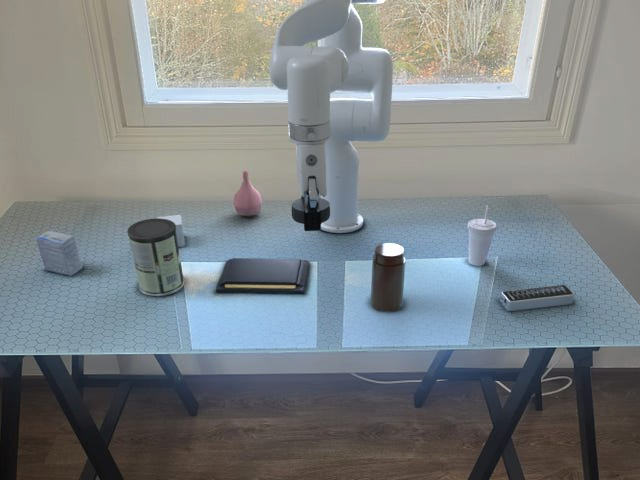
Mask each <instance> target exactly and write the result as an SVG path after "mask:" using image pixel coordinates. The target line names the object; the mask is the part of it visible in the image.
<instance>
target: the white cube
mask: <svg viewBox="0 0 640 480" xmlns="http://www.w3.org/2000/svg"><path fill="white" fill-rule="evenodd" d="M156 218H160V219H167V220H170V221H172V222H174V223H175V225H176V235H177V241H178V247H179V248H184V247H186V243H185V235H184V227H183V222H182V215H181V214H175V215H173V214H172V215H163V216H156Z"/></svg>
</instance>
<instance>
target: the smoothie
mask: <svg viewBox="0 0 640 480" xmlns="http://www.w3.org/2000/svg"><path fill="white" fill-rule="evenodd" d="M489 208H490V205H486V206H485V213H484V218H473V219H471V220H469V221H468V223H467V229H468V263H469V264H470V265H471V266H475V267H481V266H484V265H485V264H486V260H487V256H488V254H489V251H490V247H491V244H492V240H493V237H494V234H495V232H496V231H497V226H498V225H497V223H496V222H495V221H494V220H491V219H488V215H489Z"/></svg>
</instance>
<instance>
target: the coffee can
mask: <svg viewBox="0 0 640 480" xmlns="http://www.w3.org/2000/svg"><path fill="white" fill-rule="evenodd" d="M126 231H127V232H126V233H127V236H128V238H129V243H130V249H131V253H132V258H133V263H134V268H135V273H136V279H137V283H138V290H139V291H140V292H141V294H142V295H146V296H150V297H165V296H169V295H172V294H175V293H177V292H179V291H180V290H181V289H183V287H184V285H185V279H184V274H183V268H182V267H183V266H182V261H181V256H180V250H179V249H180V247H178V241H177V235H176V225H175V223H174V222H172V221H170V220H167V219H160V218H157V217H156V218H147V219H142V220H139V221H137V222H135V223H132V224H131V225H130V226H129V227H128V228H127V229H126Z"/></svg>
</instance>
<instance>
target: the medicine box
mask: <svg viewBox="0 0 640 480" xmlns="http://www.w3.org/2000/svg"><path fill="white" fill-rule="evenodd" d="M35 240H36V243H37V247H38V250H39V254H40V257H41V260H42V264H43V266H45V267H44V270H45V271H47V272H52V273H57V274H60V275H65V276H69V277H72V276H74V275H75V274H76V273H78V272H79V271H81V270H82V269H83V264H82V260H81V257H80V253H79V249H78V245H77V241H76V238H75V236H74V235H71V234H67V233H62V232H58V231H52V230H47V231H45V232H43V233H42V234H40V235H39V236H37V237H36V238H35ZM46 267H48V268H46ZM50 268H52V269H50ZM54 269H56V270H54ZM59 270H60V271H59ZM63 271H64V272H63Z"/></svg>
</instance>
